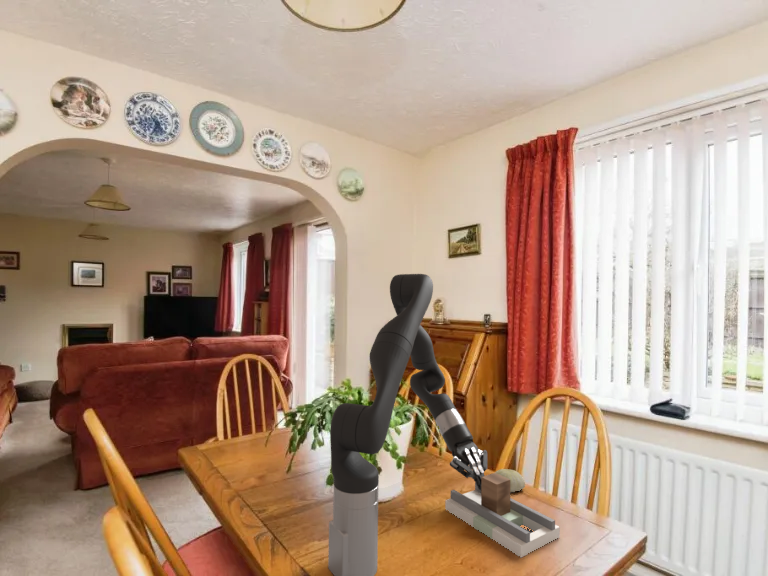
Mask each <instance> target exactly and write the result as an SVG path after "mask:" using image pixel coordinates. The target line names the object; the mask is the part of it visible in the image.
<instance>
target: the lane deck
mask: <svg viewBox="0 0 768 576" xmlns="http://www.w3.org/2000/svg"><path fill="white" fill-rule="evenodd" d="M474 489H475V490H470V491H468V492H465V493H460V492H459V491H457V490H455V489H452V490H450V497H449V498H448V499H445V505H444V506H445V509H446V510H445V509H444V510H445V511H447V510H448V511H449V512H448V511H447V512H448V513H450V514H451V513H452V514H451V515H453V514H454V515H455V517H456V516H457V517H456V518H458V519H459V518H460V519H459V520H461V519H462V520H463V521H462V520H461V521H462V522H464V521H465V522H466V524H467V523H468V524H467V525H469V526H470V525H471V526H470V527H472V528H473V527H474V529H475V530H477V531H478V530H479V531H478V532H479V533H481V532H482V534H483V533H484V534H485V535H484V534H483V535H484V536H486V535H487V536H486V537H488V538H489V537H490V538H489V539H491V540H492V539H493V540H492V541H494V540H495V541H496V542H495V541H494V542H495V543H497V542H498V543H497V544H499V545H500V544H501V545H500V546H502V547H503V546H504V547H503V548H505V549H506V548H507V549H506V550H508V549H509V550H508V551H509V552H511V551H512V552H511V553H512V554H514V553H515V555H516V556H517V557H519V556H520V557H519V558H523V557H525V556H527V555H529V554H531V553H532V551H533V552H535V551H536V549H537V550H539V549H541V548H542V546H543V547H544V545H545V544H547V543H548V544H550V543H552V542H554V541H556V540H558V539H560V538H561V535H560V534H561V530H560V529H561V527H560V526H559V525H557V524H556V520H555V519H553V518H551V517H549V516H547V515H545V514H543V513H541V512H539V511H537V510H535V509H534V508H531V507H529V506H527V505H526V504H523V503H521V502H519V501H517V500H515V499H514V498H511V497H510V512H509V513H507V514H505V515H502V516H500V515H498V514H496V513H495V512H493V511H491V510H489V509H487V508H486V507H484V506H482V505H481V490H479V488H478V486H477V485H476V483H474ZM454 515H453V516H454ZM465 522H464V523H465ZM521 525H524V526H526V527H528V528H529V529H531V530H530V531H529V529H528V528H527V530H526V529H524V528H525V527H524V528H522V527H520V526H521ZM532 530H533V531H534V532H533V531H532ZM559 537H560V538H559ZM557 538H558V539H557ZM555 539H556V540H555ZM553 540H554V541H553ZM551 541H552V542H551ZM549 542H550V543H549ZM548 544H547V545H548ZM545 546H546V545H545ZM540 547H541V548H540ZM538 548H539V549H538ZM534 550H535V551H534ZM530 552H531V553H530ZM528 553H529V554H528Z"/></svg>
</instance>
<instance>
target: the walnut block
mask: <svg viewBox="0 0 768 576" xmlns="http://www.w3.org/2000/svg"><path fill="white" fill-rule="evenodd" d="M510 498H511V492H510V479H508V478H506V477H503V476H501V475H499V474H497V473H495V472H493V473H489V474H486V475H485V476H483V477H481V505H482V506H484V507H486V508H487V509H489V510H491V511H493V512H495V513H496V514H498V515H500V516H502V515H505V514H507V513H509V512H510Z"/></svg>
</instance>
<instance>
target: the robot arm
mask: <svg viewBox="0 0 768 576" xmlns="http://www.w3.org/2000/svg"><path fill="white" fill-rule="evenodd" d="M389 283H390V284H389V294H390V300H391V302H392V305H393V309H394V311H395V313H396V315H395V316H394V317H393V318H392V319H391V320H389V321H388V322H387V323H385V324H384V325H383V326H382V327H381V329H380V330H379V331H378V333H377V335H376V336H375V339H374V341H373V344H372V346H371V348H370V351H369V352H370V353H369V363H370V368H371V370H372V374H373V377H374V381H375V384H376V392H375V398H374V400H373V402H372V404H370V405H365V404H359V403H358V404H357V403H350V402H344V403H341V404H339V405H338V406H337V407H336V409H335V410H334V411H333V415H332V417H331V421H330V429H329V430H330V432H329V433H330V437H329V439H330V440H329V441H330V455H331V456H330V459H331V460H330V463H331V465H330V467H331V474H332V477H333V504H332V505H333V506H332V508H333V509H332V520H330V521H329V523H328V562H327V563H328V564H327V565H328V567H327V568H328V570H329V571H330V572H331V574H333V576H376V573H377V572H378V550H379V549H378V547H379V545H378V542H379V537H378V536H379V482H380V481H379V470H378V468H377V467H376V466H375V465H374V464H373V463H371V462H370V461H368V460H367V459H365V458H364V456H363V455H361V454H367V455H375V454H377V453H379V451H380V450H381V449H382V448H383V446H384V444H385V441H386V438H387V435H388V432H389V428H390V425H391V424H390V423H391V419H392V415H393V411H394V406H395V404H396V403H395V402H396V399H397V395H398V392H399V388H400V385H401V382H402V378H403V376H404V373H405V370H406V368H407V366H408V363H409V361H410V358H411V363H412V366H413V368H414V369H416V370H418V372H416V373H414V374H412V375H411V376H410V379H409V385H410V388H411V390H412V391H413V393H414V394H415V395H416V396H417V397H418V398H419V399H420V400H421V401H422V402H423V404H424V405H425V406H426V407H427V409H428V408H429V409H428V410H429V412H430V414H431V415H432V418H433V419H434V421H435V424H436V426H439V428H440V429H438V432H439V433H440V435H441V437H442V440H443V441H444V443H445V445H446V446H447V449H448V450H449V451H450V452H451V454H452V455H451V456H452V460H451V461H450V462H449V466H450V467H451V468H453V469H454V470H455V471H456V472H458V473H459V474H460V475H461V476H463V477H464V478H465V479H468V478H471V479H473V481H474V482H475V483H476V485H477V486H478V488H479V490H481V477H483V476H486V475H485V471H487V470H488V451H487V450H486V449H484V450H481V449H479V447H478V445H476V443H475V442H474V436H473V435H472V432H471V431H470V429H469V428H468V426H467V424H466V423H465V420H464V419H463V417H462V415H461V414H460V413H459V411H458V409H457V408H456V406H455V404H454V403H453V401H452V399H451V398H450V396H449V395H448V394H447V393H438V394H437V393H436V394H434V393H433V392H436V391H438V390H441V389H442V388H443V387H444V385H445V383H446V382H445V381H446V378H445V375H444V373H443V371H442V370H441V368H440V366H439V364H438V363H437V360H436V356H435V352H434V346H433V342H432V339H431V337H430V335H429V334H428V332H427V331H426V330H425V329H424V327H423V326H422V325H421V324H422V321H423V319H424V317H425V315H426V313H427V310H428V308H429V306H430V303H431V301H432V298H433V293H434V284H433V280H432V278H431V276H430V275H428V274H424V273H405V274H404V273H402V274H396V275H394V276H392V277H391V280H390V282H389ZM475 483H474V484H475Z"/></svg>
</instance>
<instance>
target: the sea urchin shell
mask: <svg viewBox="0 0 768 576" xmlns="http://www.w3.org/2000/svg"><path fill="white" fill-rule="evenodd" d="M494 473H497V474H499V475H501V476H503V477H506V478H508V479H510V493H515V491H519V492H520V490H521V489H523V488H524V489H525V487H526V482H525V478H524V477H523V475H522V474H520V472H518V471H516V470H514V469H510V468H509V469H507V468H500V469H498V470H497V471H495V472H494ZM524 484H525V485H524ZM524 489H523V490H524ZM521 491H522V490H521Z"/></svg>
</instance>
